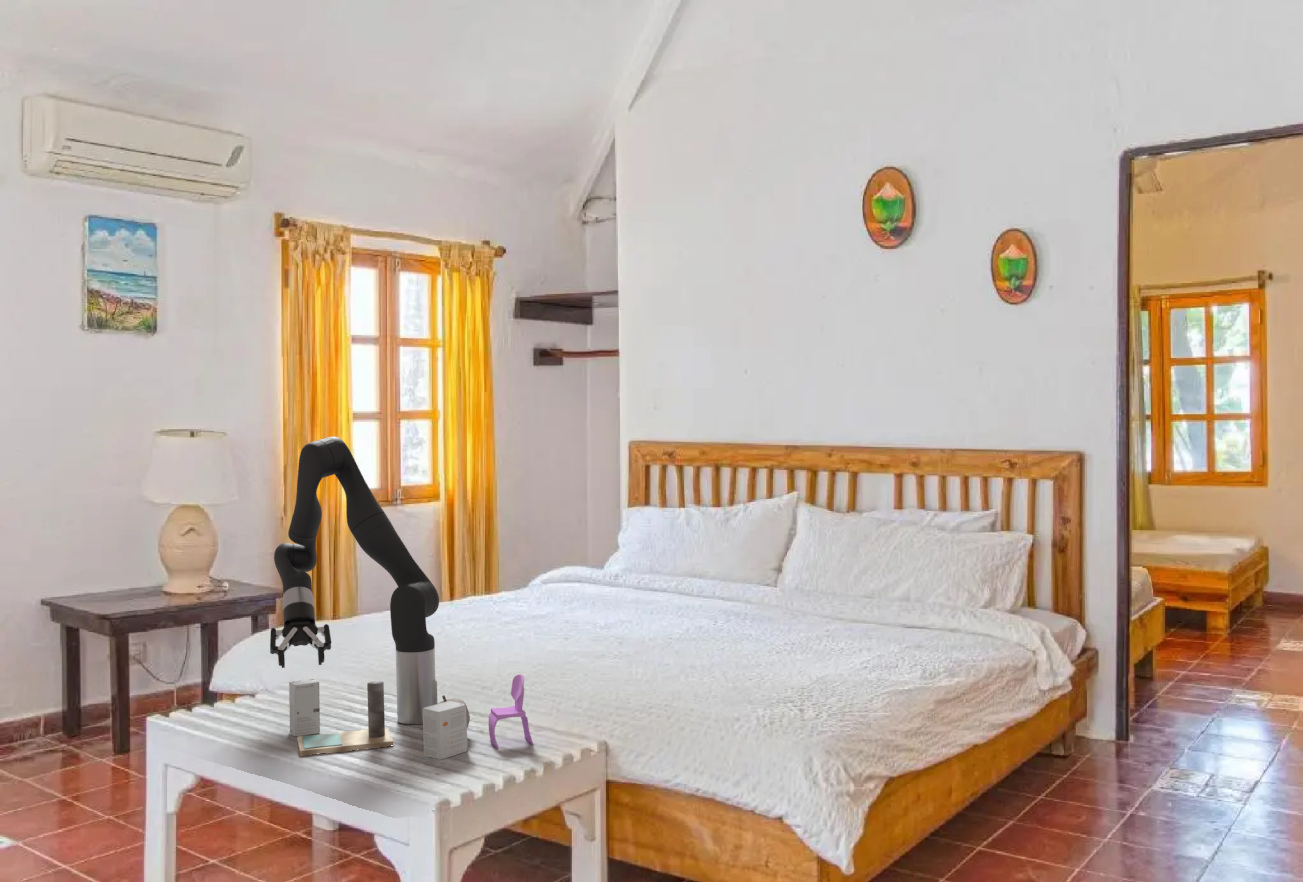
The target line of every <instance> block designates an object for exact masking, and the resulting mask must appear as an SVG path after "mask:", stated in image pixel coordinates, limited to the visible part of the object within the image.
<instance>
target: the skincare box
mask: <svg viewBox="0 0 1303 882" xmlns="http://www.w3.org/2000/svg"><path fill="white" fill-rule="evenodd" d="M288 686H289V687H288V688H289V691H288V693H289V695H288V696H289V698H288V699H289V704H288V705H289V733H290V735H291V736H293V735H294V736H293V737H295V738H296V737H297V738H298V737H299V736H309V735H319V734H320V732H321V723H320V722H321V721H320V720H321V718H320V717H321V715H320V713H321V712H320V710H321V709H320V708H321V707H320V681H319V680H316V679H314V678H311V679H301V680H294V681H289V682H288Z"/></svg>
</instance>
